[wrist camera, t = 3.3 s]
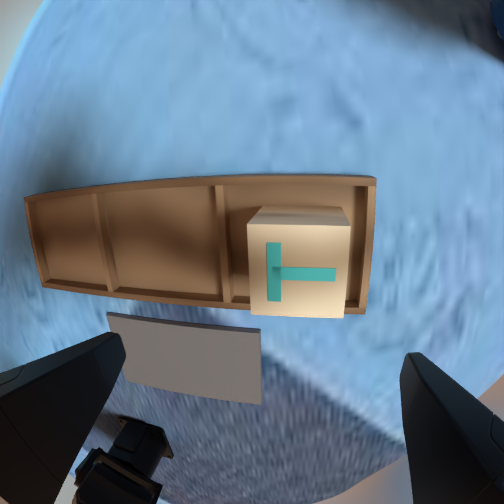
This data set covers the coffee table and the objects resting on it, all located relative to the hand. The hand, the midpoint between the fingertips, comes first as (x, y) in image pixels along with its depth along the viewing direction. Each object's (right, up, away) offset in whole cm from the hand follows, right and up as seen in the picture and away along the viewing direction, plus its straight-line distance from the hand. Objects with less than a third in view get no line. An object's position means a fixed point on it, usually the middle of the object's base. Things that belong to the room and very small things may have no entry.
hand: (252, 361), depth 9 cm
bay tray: (-6, +4, +14) cm, 16 cm away
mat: (-6, -6, +17) cm, 19 cm away
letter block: (+3, +4, +11) cm, 12 cm away
